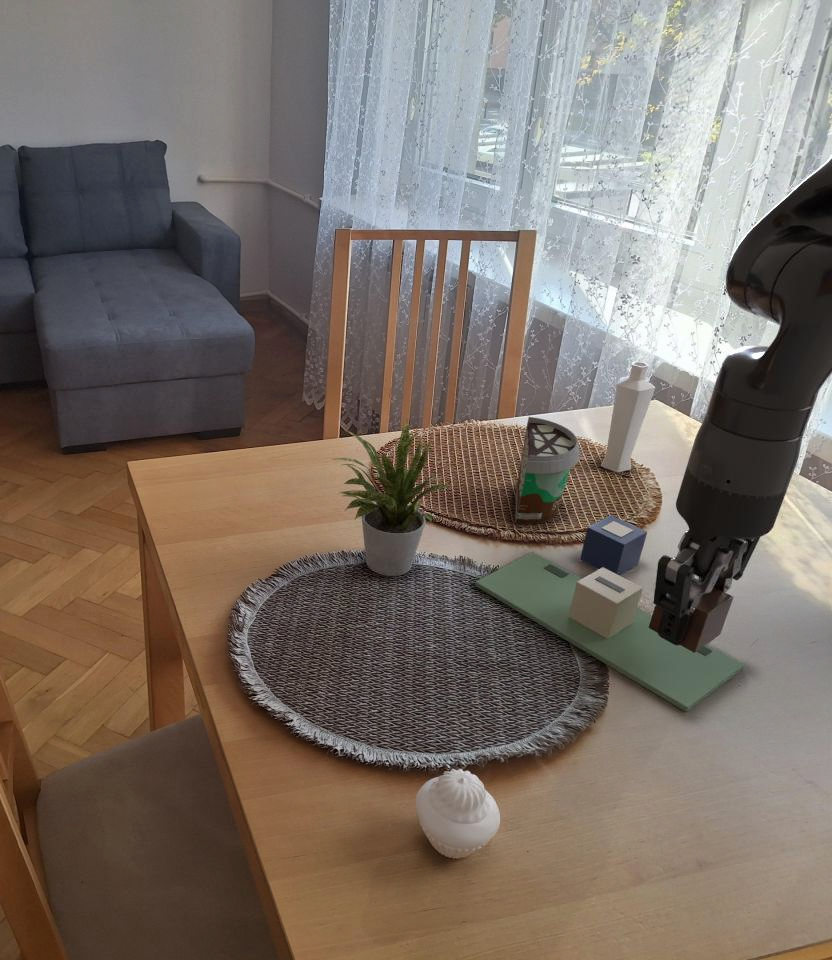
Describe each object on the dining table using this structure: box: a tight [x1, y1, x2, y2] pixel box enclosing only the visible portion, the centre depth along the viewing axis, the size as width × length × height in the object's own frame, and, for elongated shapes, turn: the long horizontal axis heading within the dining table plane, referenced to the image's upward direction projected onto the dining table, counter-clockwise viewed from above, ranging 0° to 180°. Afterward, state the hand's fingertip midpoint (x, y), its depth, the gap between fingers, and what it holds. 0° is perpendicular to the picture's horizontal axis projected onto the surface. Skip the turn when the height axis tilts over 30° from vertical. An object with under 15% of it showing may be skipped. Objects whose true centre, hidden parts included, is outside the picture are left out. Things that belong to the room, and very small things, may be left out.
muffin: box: [414, 768, 501, 860], centre depth 65 cm, size 6×6×7 cm
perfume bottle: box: [600, 360, 656, 473], centre depth 115 cm, size 5×4×15 cm
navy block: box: [579, 514, 648, 576], centre depth 98 cm, size 4×4×5 cm
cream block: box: [569, 567, 644, 639], centre depth 88 cm, size 4×4×5 cm
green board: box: [474, 551, 745, 713], centre depth 89 cm, size 10×24×1 cm, turn 34°
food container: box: [514, 416, 580, 525], centre depth 107 cm, size 12×6×10 cm, turn 161°
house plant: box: [332, 419, 453, 577], centre depth 97 cm, size 14×14×16 cm
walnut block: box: [649, 577, 734, 653], centre depth 80 cm, size 4×4×5 cm
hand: (685, 628), depth 81 cm, fingers closed on walnut block, 4 cm apart
